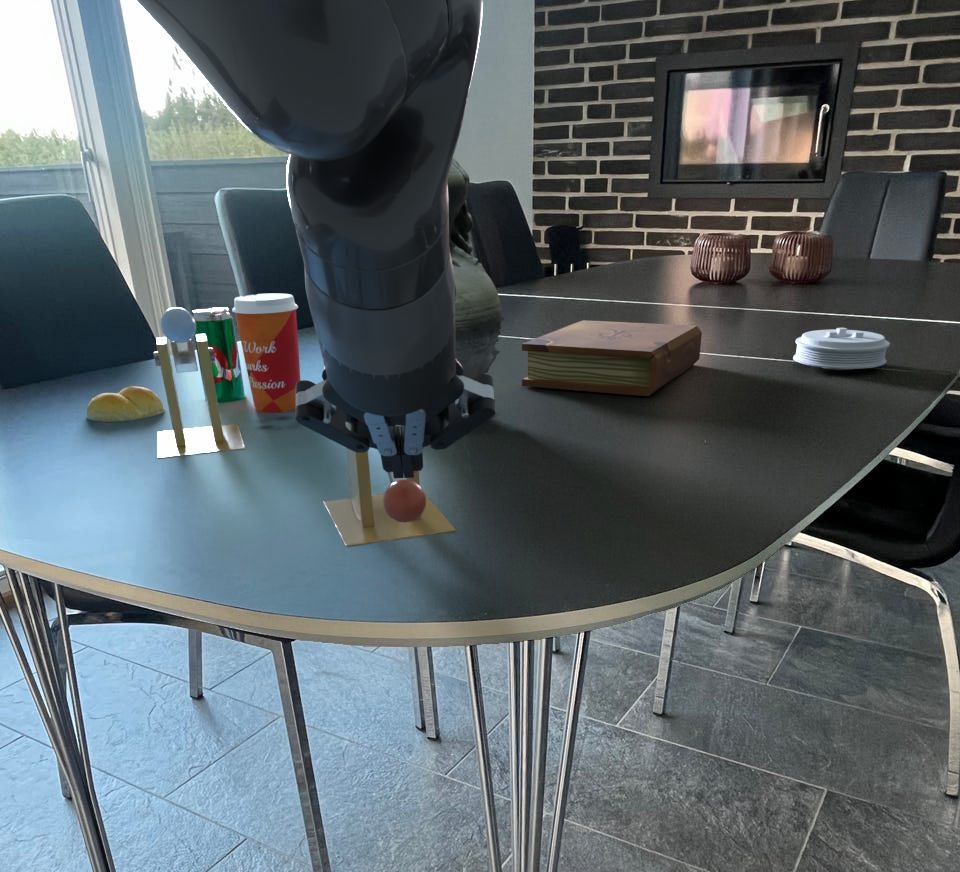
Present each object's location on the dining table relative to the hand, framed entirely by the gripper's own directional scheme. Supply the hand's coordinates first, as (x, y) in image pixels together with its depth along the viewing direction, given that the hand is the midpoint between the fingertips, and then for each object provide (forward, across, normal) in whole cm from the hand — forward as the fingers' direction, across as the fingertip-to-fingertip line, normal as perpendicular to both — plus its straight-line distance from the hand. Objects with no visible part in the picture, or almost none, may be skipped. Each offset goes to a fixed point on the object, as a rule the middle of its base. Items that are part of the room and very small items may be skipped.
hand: (404, 466), depth 62 cm
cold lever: (+19, -22, +23) cm, 38 cm away
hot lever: (+5, -1, +3) cm, 6 cm away
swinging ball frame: (+12, -2, 0) cm, 12 cm away
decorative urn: (+39, 0, +27) cm, 47 cm away
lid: (+52, +61, +41) cm, 90 cm away
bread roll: (+41, -36, +29) cm, 61 cm away
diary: (+52, +28, +40) cm, 72 cm away
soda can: (+45, -25, +33) cm, 61 cm away
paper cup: (+40, -17, +29) cm, 53 cm away
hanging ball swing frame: (+30, -24, +19) cm, 43 cm away
